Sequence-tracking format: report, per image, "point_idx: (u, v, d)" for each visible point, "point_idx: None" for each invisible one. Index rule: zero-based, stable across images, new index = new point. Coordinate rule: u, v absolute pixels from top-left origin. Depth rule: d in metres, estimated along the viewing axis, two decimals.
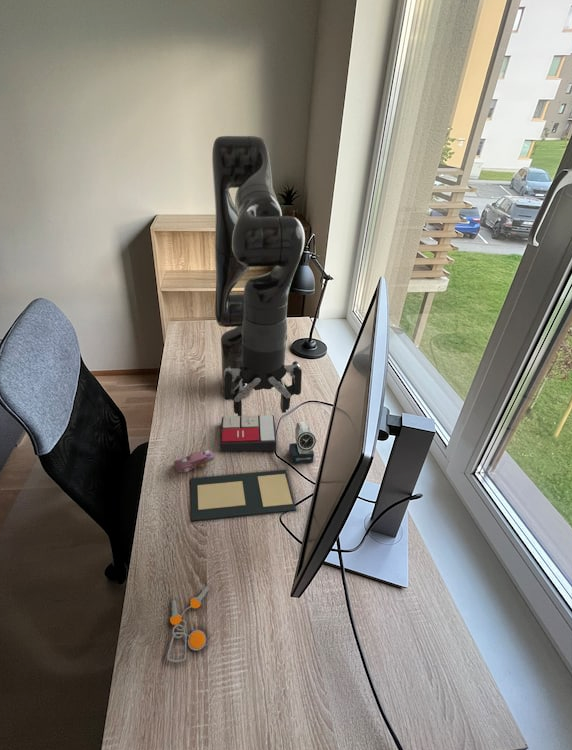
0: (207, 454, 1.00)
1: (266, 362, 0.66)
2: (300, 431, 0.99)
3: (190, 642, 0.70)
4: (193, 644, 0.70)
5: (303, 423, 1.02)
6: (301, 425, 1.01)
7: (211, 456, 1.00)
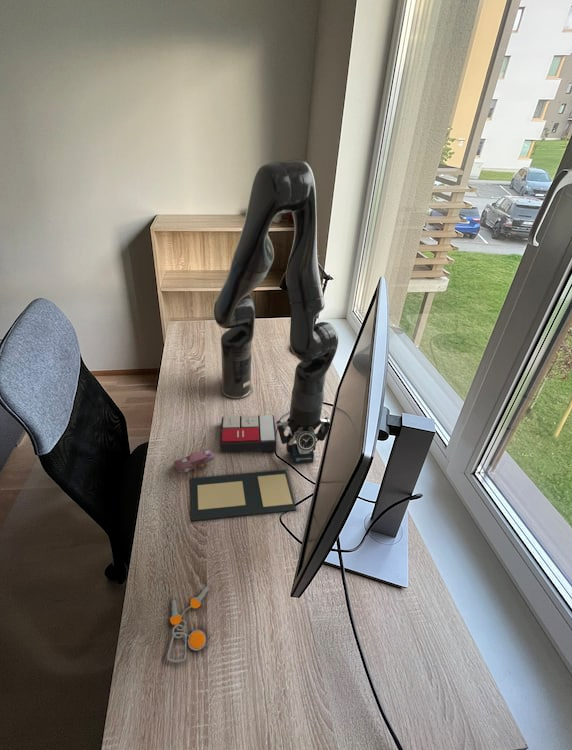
0: (207, 454, 1.00)
1: (309, 418, 0.94)
2: None
3: (190, 642, 0.70)
4: (193, 644, 0.70)
5: None
6: None
7: (211, 456, 1.00)
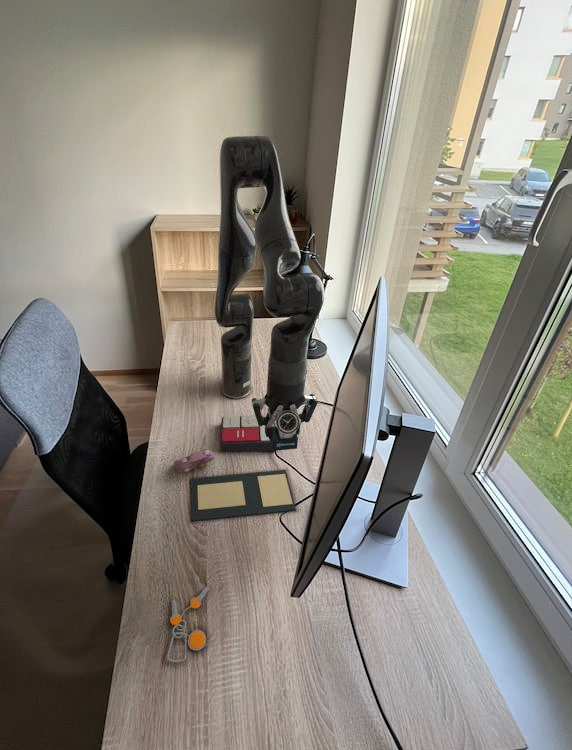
0: (207, 454, 1.00)
1: (289, 393, 0.77)
2: None
3: (190, 642, 0.70)
4: (193, 644, 0.70)
5: None
6: None
7: (211, 456, 1.00)
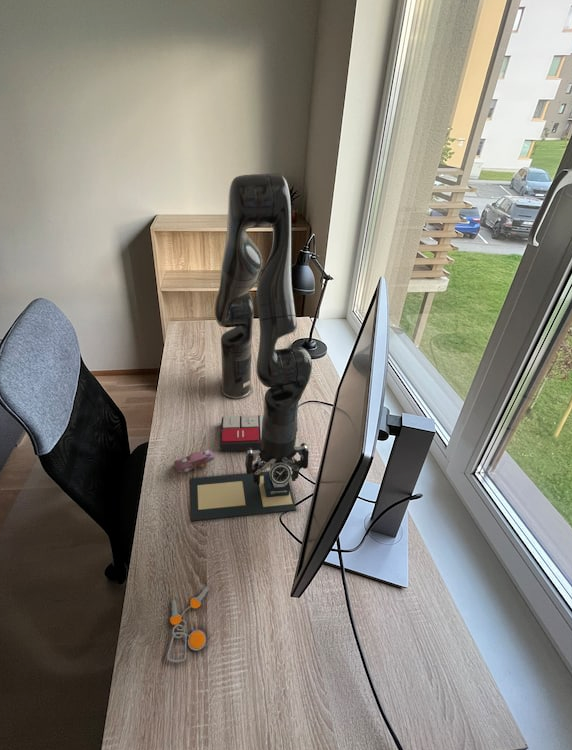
0: (207, 454, 1.00)
1: (281, 450, 0.84)
2: (273, 463, 0.90)
3: (189, 642, 0.70)
4: (193, 644, 0.70)
5: None
6: None
7: (211, 456, 1.00)
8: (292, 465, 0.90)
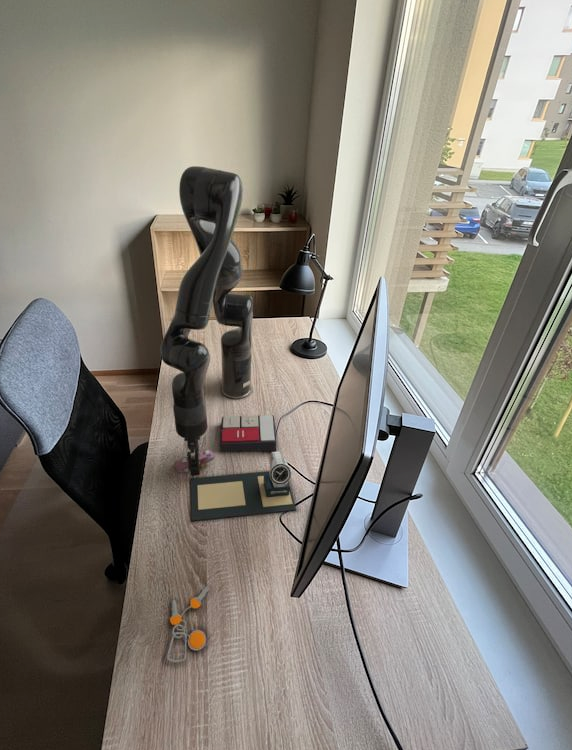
0: (207, 454, 1.00)
1: None
2: (273, 463, 0.90)
3: (190, 642, 0.70)
4: (193, 644, 0.70)
5: (277, 453, 0.92)
6: (275, 455, 0.91)
7: (211, 456, 1.00)
8: (186, 454, 0.96)
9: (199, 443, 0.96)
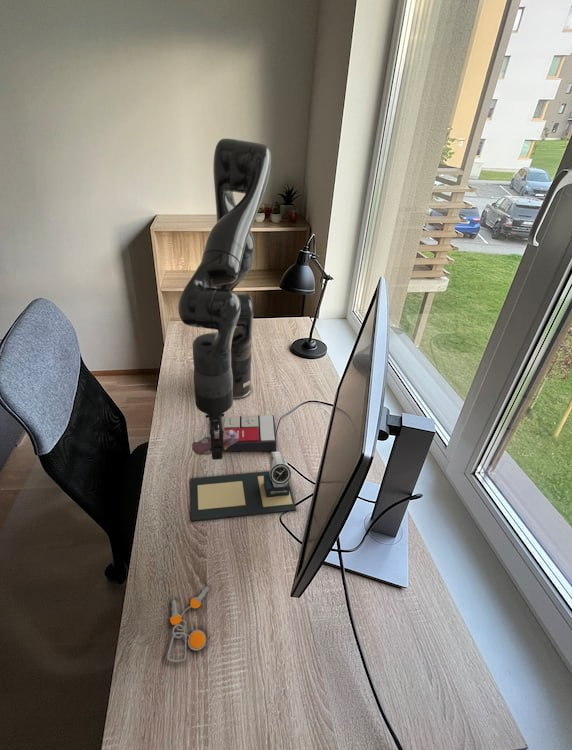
0: (231, 434, 0.85)
1: None
2: (273, 463, 0.90)
3: (189, 642, 0.70)
4: (193, 644, 0.70)
5: (277, 453, 0.92)
6: (275, 455, 0.91)
7: (236, 437, 0.85)
8: None
9: (223, 420, 0.81)
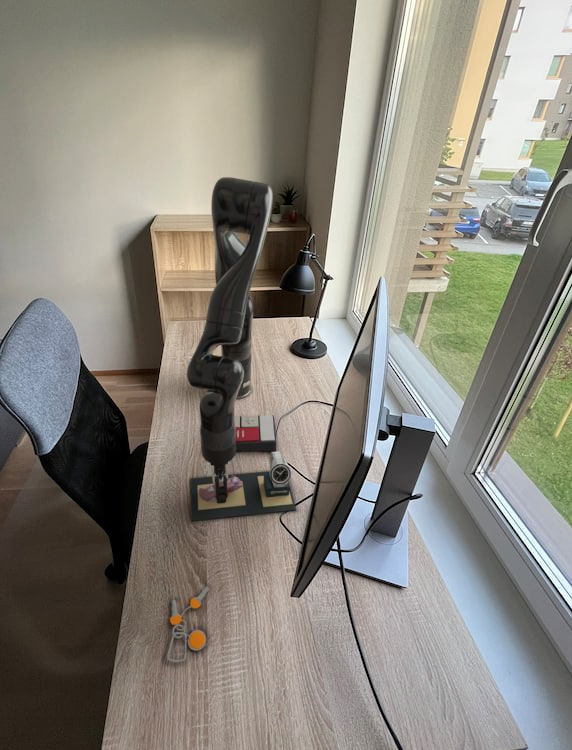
0: (235, 482, 0.92)
1: None
2: (273, 463, 0.90)
3: (189, 642, 0.70)
4: (193, 644, 0.70)
5: (277, 453, 0.92)
6: (275, 455, 0.91)
7: (239, 484, 0.93)
8: None
9: (227, 468, 0.87)
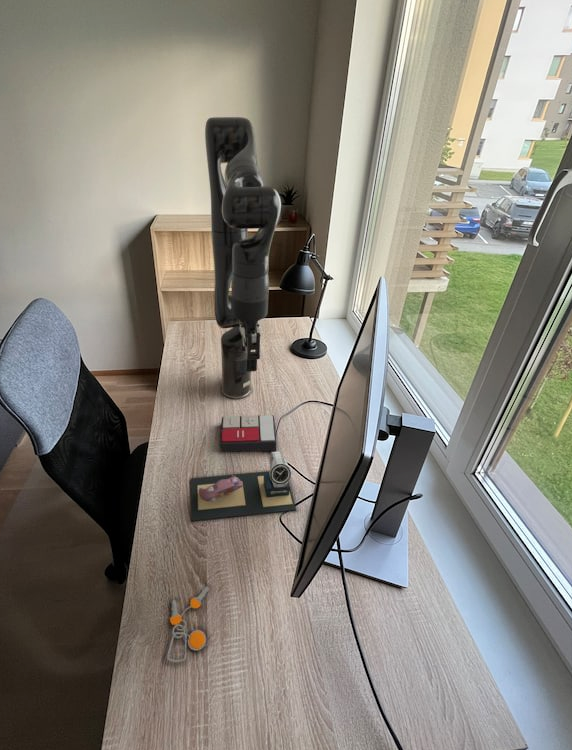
0: (235, 482, 0.92)
1: (231, 303, 0.82)
2: (273, 463, 0.90)
3: (190, 642, 0.70)
4: (193, 644, 0.70)
5: (277, 453, 0.92)
6: (275, 455, 0.91)
7: (239, 484, 0.93)
8: (243, 342, 0.84)
9: (258, 330, 0.84)
